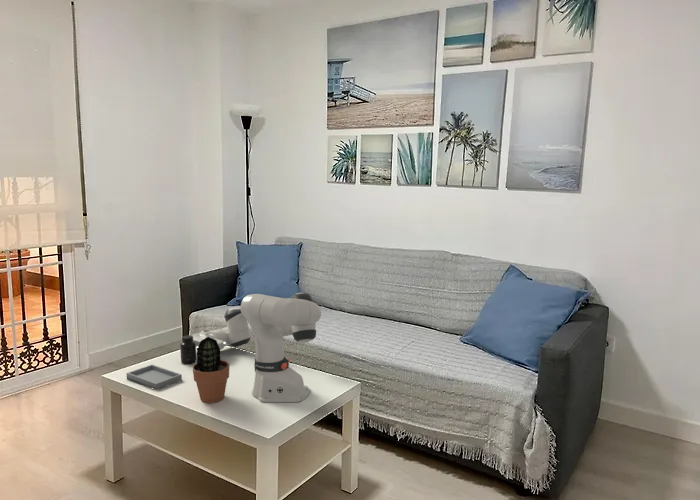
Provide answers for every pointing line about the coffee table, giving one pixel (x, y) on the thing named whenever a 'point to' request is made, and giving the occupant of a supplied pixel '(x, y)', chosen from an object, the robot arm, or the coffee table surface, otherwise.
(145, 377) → the grey serving tray
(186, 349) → the supplement bottle
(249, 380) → the coffee table surface
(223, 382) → the potted plant
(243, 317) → the robot arm
